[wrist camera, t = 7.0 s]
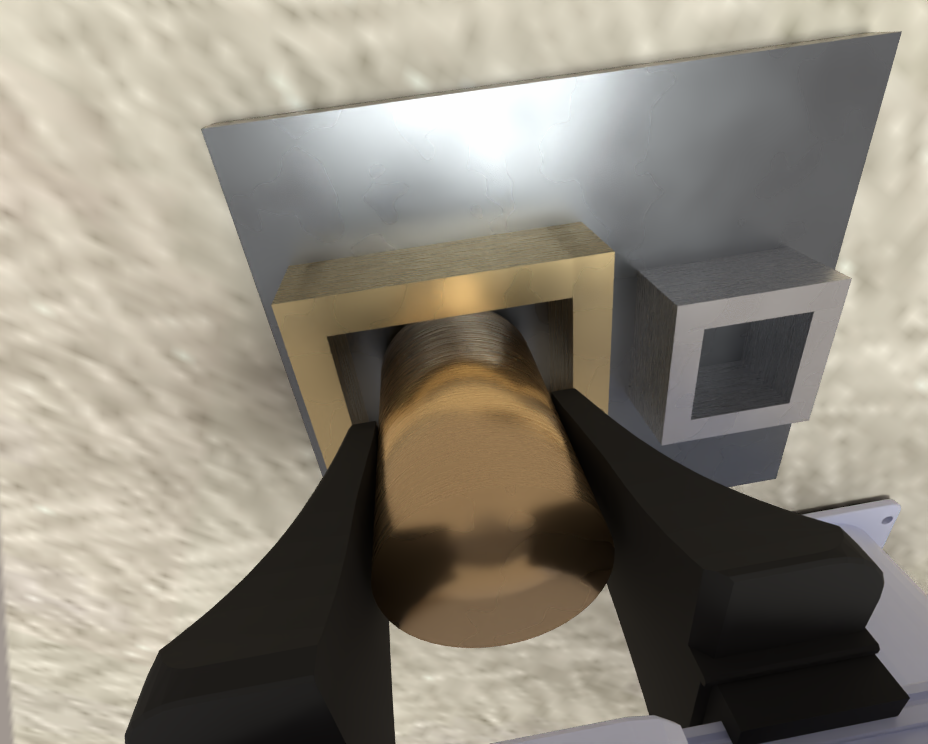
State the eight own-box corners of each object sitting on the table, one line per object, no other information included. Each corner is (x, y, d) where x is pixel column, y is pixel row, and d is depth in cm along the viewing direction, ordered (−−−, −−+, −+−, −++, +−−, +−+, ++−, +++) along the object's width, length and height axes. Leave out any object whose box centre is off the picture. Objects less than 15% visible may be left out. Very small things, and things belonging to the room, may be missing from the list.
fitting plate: (760, 461, 22) (819, 527, 19) (351, 533, 21) (345, 613, 18) (869, 32, 14) (1002, 28, 11) (213, 123, 13) (161, 145, 10)
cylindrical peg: (533, 425, 17) (606, 628, 11) (393, 443, 17) (391, 662, 11) (531, 296, 14) (624, 468, 9) (368, 316, 14) (348, 507, 8)
